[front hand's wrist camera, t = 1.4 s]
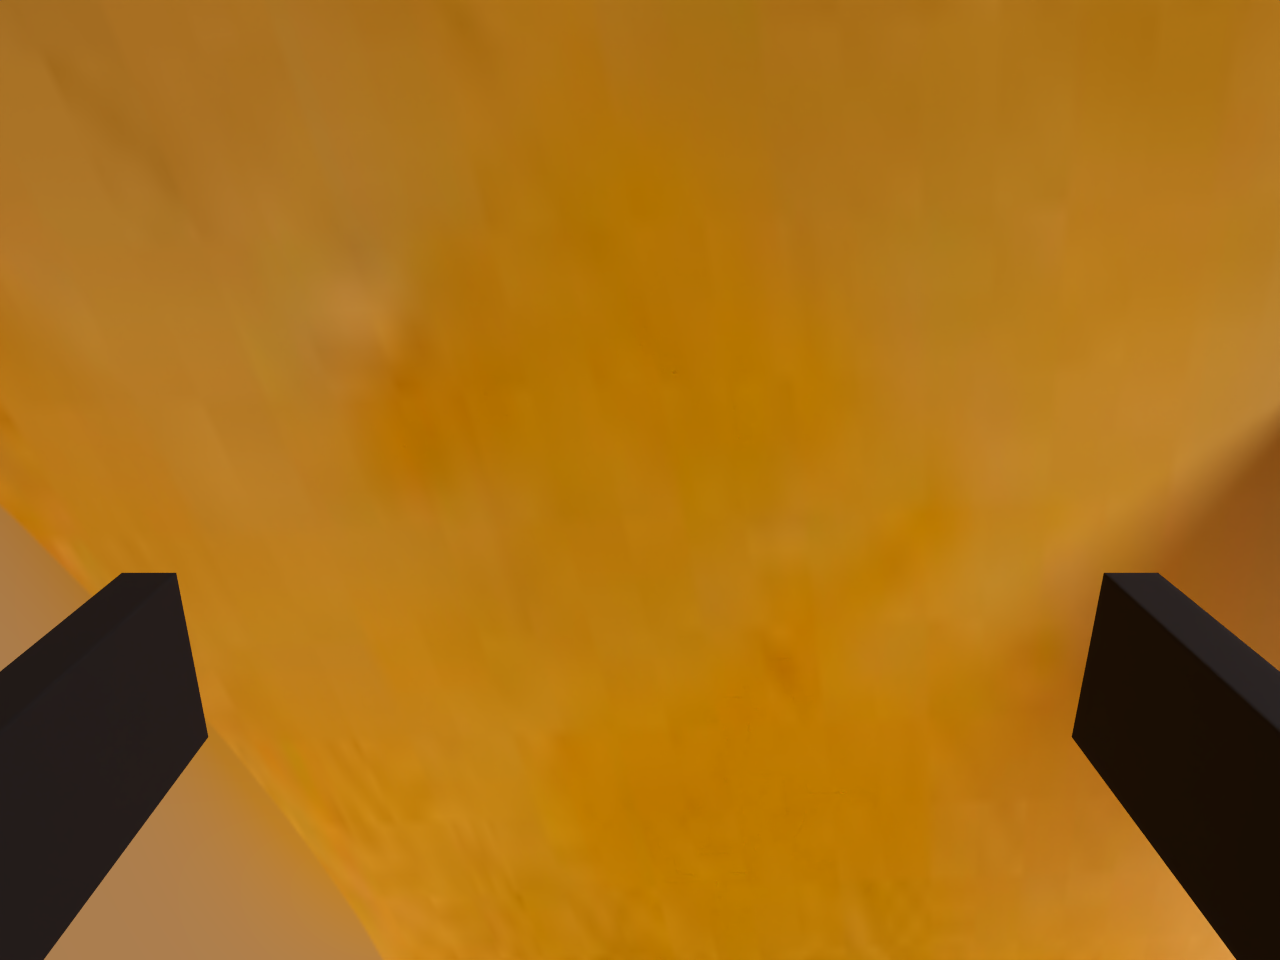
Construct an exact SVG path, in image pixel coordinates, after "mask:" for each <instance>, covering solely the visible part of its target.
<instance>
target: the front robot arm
mask: <svg viewBox="0 0 1280 960" xmlns="http://www.w3.org/2000/svg"><path fill="white" fill-rule="evenodd" d="M207 738H208V733H207V728H206V723H205V718H204V713H203V708H202V703H201V698H200V692H199V687H198V682H197V677H196V672H195V667H194V662H193V657H192V652H191V646H190V641H189V636H188V631H187V626H186V621H185V616H184V611H183V606H182V601H181V595H180V590H179V585H178V580H177V575H176V573H121V574H120V575H119V576H118V577H116V578H115V579H114V580H113V581H111V582H110V583H109V584H108V585H107V586H105V587H104V588H103V589H102V590H100V591H99V592H98V593H97V594H95V595H94V596H93V597H92V598H90V599H89V600H88V601H87V602H86V603H84V604H83V605H82V606H81V607H79V608H78V609H77V610H76V611H74V612H73V613H72V614H71V615H70V616H68V617H67V618H66V619H65V620H63V621H62V622H61V623H60V624H59V625H57V626H56V627H55V628H53V629H52V630H51V631H50V632H49V633H47V634H46V635H45V636H44V637H42V638H41V639H40V640H39V641H38V642H36V643H35V644H34V645H33V646H31V647H30V648H29V649H28V650H26V651H25V652H24V653H23V654H21V655H20V656H19V657H18V658H17V659H15V660H14V661H13V662H12V663H10V664H9V665H8V666H7V667H5V668H4V669H3V670H2V671H1V672H0V960H44V958H45V957H46V956H47V954H48V953H49V952H50V950H51V949H52V948H53V946H54V945H55V944H56V942H57V941H58V939H59V938H60V937H61V935H62V934H63V933H64V931H65V930H66V929H67V927H68V926H69V925H70V923H71V922H72V921H73V919H74V918H75V917H76V915H77V914H78V912H79V911H80V910H81V908H82V907H83V906H84V904H85V903H86V902H87V900H88V899H89V898H90V896H91V895H92V893H93V892H94V891H95V889H96V888H97V887H98V885H99V884H100V883H101V881H102V880H103V879H104V877H105V876H106V875H107V873H108V872H109V870H110V869H111V868H112V866H113V865H114V864H115V862H116V861H117V860H118V858H119V857H120V856H121V854H122V853H123V852H124V850H125V849H126V848H127V846H128V845H129V843H130V842H131V841H132V839H133V838H134V837H135V835H136V834H137V833H138V831H139V830H140V829H141V827H142V826H143V825H144V823H145V822H146V820H147V819H148V818H149V816H150V815H151V814H152V812H153V811H154V810H155V808H156V807H157V805H158V804H159V803H160V801H161V800H162V799H163V797H164V796H165V795H166V793H167V792H168V791H169V789H170V788H171V786H172V785H173V784H174V783H175V781H176V780H177V778H178V777H179V776H180V774H181V773H182V772H183V770H184V769H185V768H186V766H187V765H188V764H189V762H190V761H191V760H192V758H193V757H194V755H195V754H196V753H197V751H198V750H199V749H200V747H201V746H202V745H203V743H204V742H205V741H206V739H207ZM1072 738H1073V739H1074V741H1075V742H1076V743H1077V745H1078V746H1079V747H1080V749H1081V750H1082V751H1083V753H1084V754H1085V755H1086V757H1087V758H1088V760H1089V761H1090V762H1091V764H1092V765H1093V766H1094V768H1095V769H1096V770H1097V772H1098V773H1099V774H1100V776H1101V777H1102V779H1103V780H1104V781H1105V783H1106V784H1107V785H1108V787H1109V788H1110V789H1111V791H1112V792H1113V793H1114V795H1115V796H1116V797H1117V799H1118V800H1119V802H1120V803H1121V804H1122V806H1123V807H1124V808H1125V810H1126V811H1127V812H1128V814H1129V815H1130V816H1131V818H1132V819H1133V820H1134V822H1135V823H1136V825H1137V826H1138V827H1139V829H1140V830H1141V831H1142V833H1143V834H1144V835H1145V837H1146V838H1147V839H1148V841H1149V842H1150V843H1151V845H1152V846H1153V848H1154V849H1155V850H1156V852H1157V853H1158V854H1159V856H1160V857H1161V858H1162V860H1163V861H1164V862H1165V864H1166V865H1167V866H1168V868H1169V869H1170V871H1171V872H1172V873H1173V875H1174V876H1175V877H1176V879H1177V880H1178V881H1179V883H1180V884H1181V885H1182V887H1183V888H1184V889H1185V891H1186V892H1187V894H1188V895H1189V896H1190V898H1191V899H1192V900H1193V902H1194V903H1195V904H1196V906H1197V907H1198V908H1199V910H1200V911H1201V912H1202V914H1203V915H1204V917H1205V918H1206V919H1207V921H1208V922H1209V923H1210V925H1211V926H1212V927H1213V929H1214V930H1215V931H1216V933H1217V934H1218V935H1219V937H1220V938H1221V940H1222V941H1223V942H1224V944H1225V945H1226V946H1227V948H1228V949H1229V950H1230V952H1231V953H1232V954H1233V956H1234V957H1235V958H1236V960H1280V671H1278V670H1277V669H1276V668H1275V667H1273V666H1272V665H1271V664H1270V663H1268V662H1267V661H1266V660H1265V659H1263V658H1262V657H1261V656H1260V655H1259V654H1257V653H1256V652H1255V651H1254V650H1252V649H1251V648H1250V647H1249V646H1247V645H1246V644H1245V643H1244V642H1243V641H1241V640H1240V639H1239V638H1238V637H1236V636H1235V635H1234V634H1233V633H1231V632H1230V631H1229V630H1228V629H1227V628H1225V627H1224V626H1223V625H1222V624H1220V623H1219V622H1218V621H1217V620H1215V619H1214V618H1213V617H1212V616H1210V615H1209V614H1208V613H1207V612H1206V611H1204V610H1203V609H1202V608H1201V607H1199V606H1198V605H1197V604H1196V603H1194V602H1193V601H1192V600H1191V599H1190V598H1188V597H1187V596H1186V595H1185V594H1183V593H1182V592H1181V591H1180V590H1178V589H1177V588H1176V587H1175V586H1173V585H1172V584H1171V583H1170V582H1169V581H1167V580H1166V579H1165V578H1164V577H1162V576H1161V575H1160V574H1159V573H1104V575H1103V580H1102V585H1101V590H1100V595H1099V601H1098V606H1097V611H1096V616H1095V621H1094V626H1093V631H1092V636H1091V641H1090V646H1089V652H1088V657H1087V662H1086V667H1085V672H1084V677H1083V682H1082V687H1081V692H1080V698H1079V703H1078V708H1077V713H1076V718H1075V723H1074V728H1073V733H1072Z"/></svg>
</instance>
